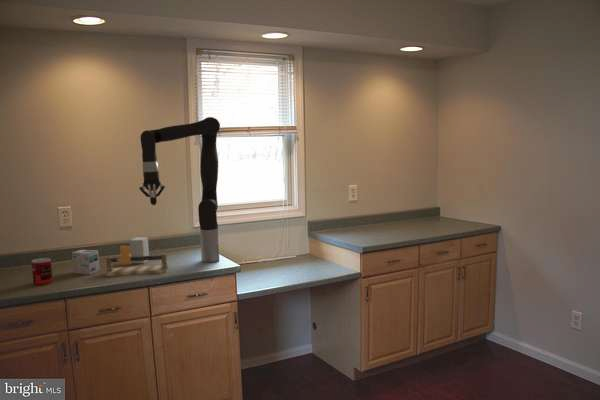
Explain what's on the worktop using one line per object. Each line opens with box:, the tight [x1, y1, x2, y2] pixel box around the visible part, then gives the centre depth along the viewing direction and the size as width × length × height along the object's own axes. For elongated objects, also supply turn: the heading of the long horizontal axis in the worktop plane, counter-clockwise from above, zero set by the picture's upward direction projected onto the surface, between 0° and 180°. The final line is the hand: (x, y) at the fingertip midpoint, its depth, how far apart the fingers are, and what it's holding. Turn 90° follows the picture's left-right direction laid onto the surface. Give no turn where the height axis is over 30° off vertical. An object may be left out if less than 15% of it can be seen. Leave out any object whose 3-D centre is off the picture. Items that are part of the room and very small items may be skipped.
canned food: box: [31, 257, 54, 286], centre depth 224 cm, size 8×8×11 cm
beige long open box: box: [105, 253, 169, 277], centre depth 241 cm, size 28×10×8 cm, turn 99°
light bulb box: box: [71, 249, 101, 276], centre depth 241 cm, size 11×7×11 cm, turn 71°
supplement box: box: [128, 237, 150, 264], centre depth 260 cm, size 7×7×13 cm
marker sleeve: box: [119, 245, 133, 266], centre depth 240 cm, size 5×4×9 cm
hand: (153, 204), depth 248 cm, fingers closed
